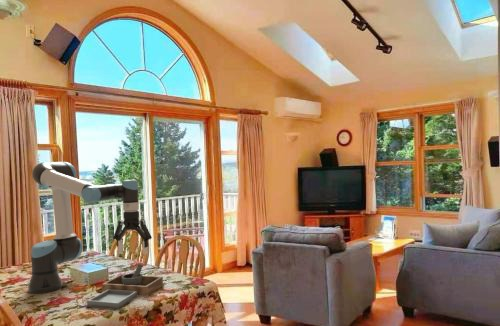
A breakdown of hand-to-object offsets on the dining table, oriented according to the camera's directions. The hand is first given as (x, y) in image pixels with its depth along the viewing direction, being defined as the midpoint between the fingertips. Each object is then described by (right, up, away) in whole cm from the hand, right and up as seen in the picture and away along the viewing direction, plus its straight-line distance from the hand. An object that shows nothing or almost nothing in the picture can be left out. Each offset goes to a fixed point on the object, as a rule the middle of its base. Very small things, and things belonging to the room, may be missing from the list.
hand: (132, 253), depth 194 cm
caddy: (0, -18, 0) cm, 18 cm away
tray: (-4, -18, -16) cm, 25 cm away
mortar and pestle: (0, -18, 0) cm, 18 cm away
